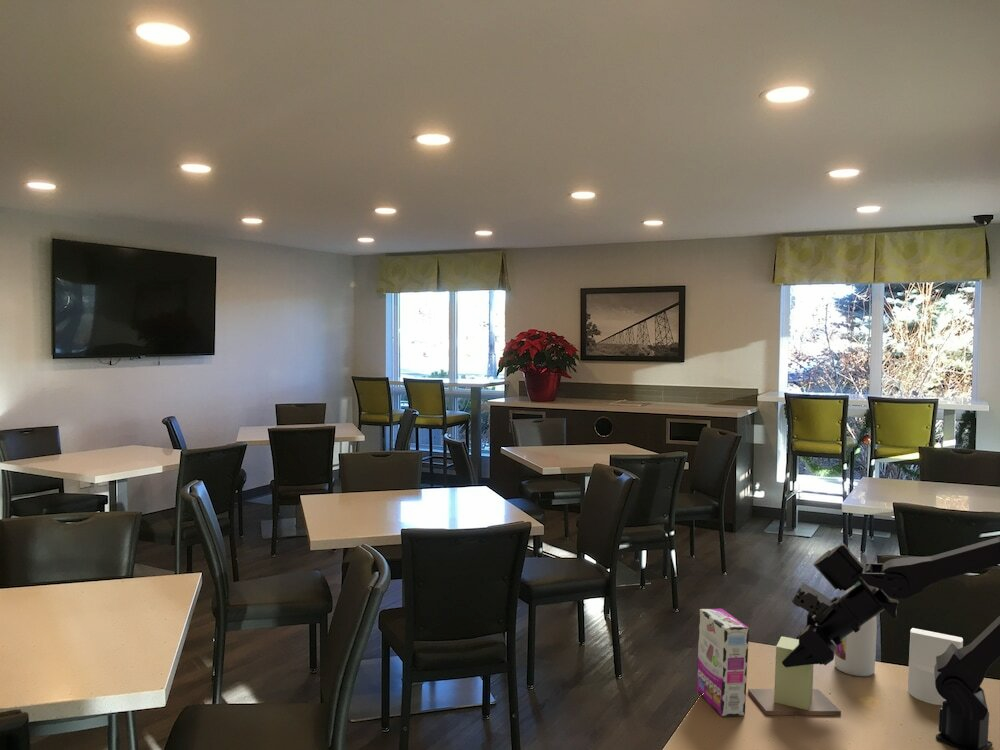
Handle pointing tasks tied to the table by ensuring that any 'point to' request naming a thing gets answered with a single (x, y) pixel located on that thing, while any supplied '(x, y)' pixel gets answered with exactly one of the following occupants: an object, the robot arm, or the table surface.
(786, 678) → the pale green upright block
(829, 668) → the table surface
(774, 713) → the walnut stud board
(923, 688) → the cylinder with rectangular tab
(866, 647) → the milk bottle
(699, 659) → the candy bar box
